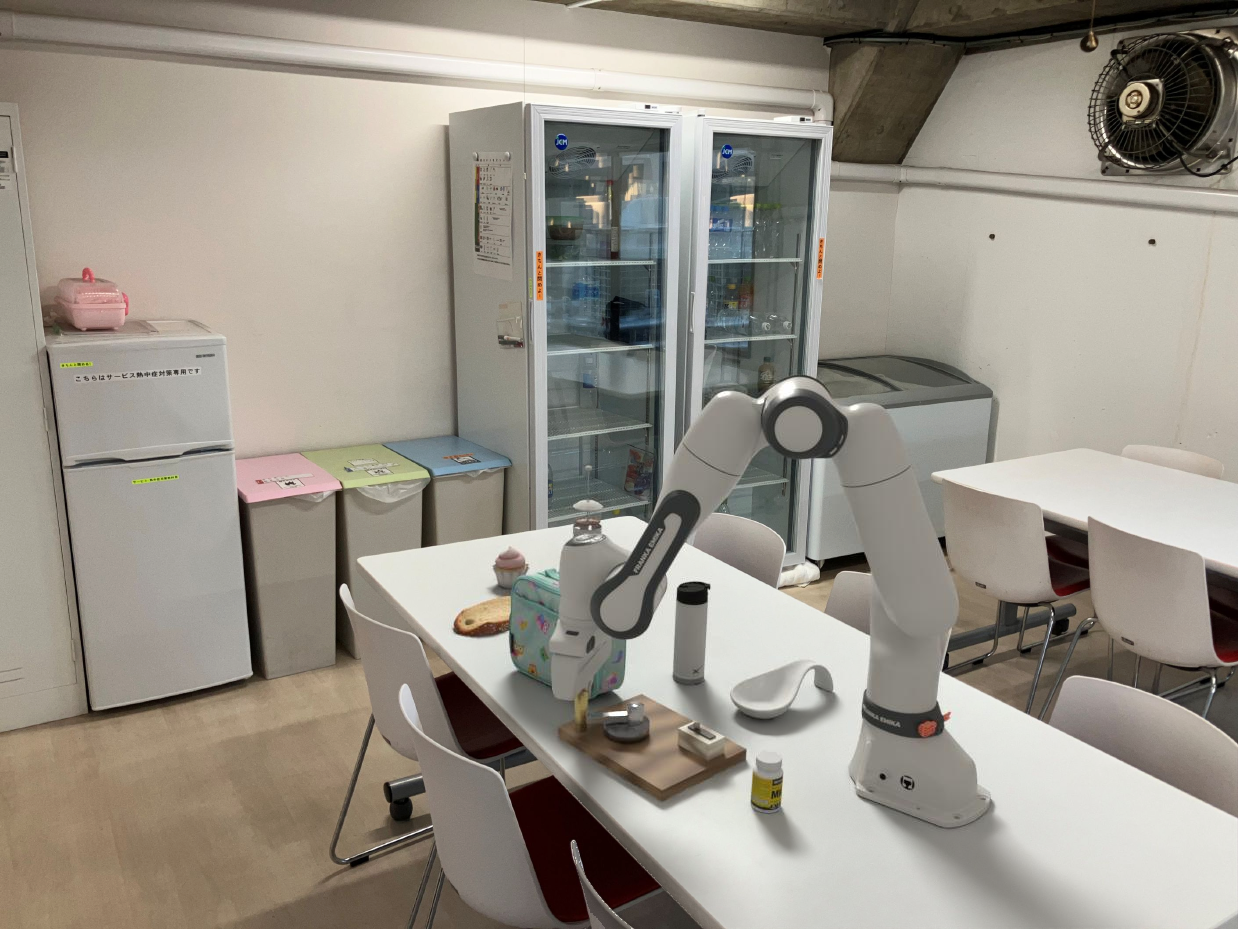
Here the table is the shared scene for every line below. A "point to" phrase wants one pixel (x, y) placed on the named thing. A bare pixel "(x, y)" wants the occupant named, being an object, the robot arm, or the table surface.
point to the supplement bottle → (767, 782)
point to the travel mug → (690, 632)
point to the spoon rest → (777, 688)
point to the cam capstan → (613, 721)
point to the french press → (587, 521)
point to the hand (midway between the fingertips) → (583, 700)
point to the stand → (659, 750)
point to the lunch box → (550, 632)
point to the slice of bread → (484, 618)
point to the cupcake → (509, 567)
